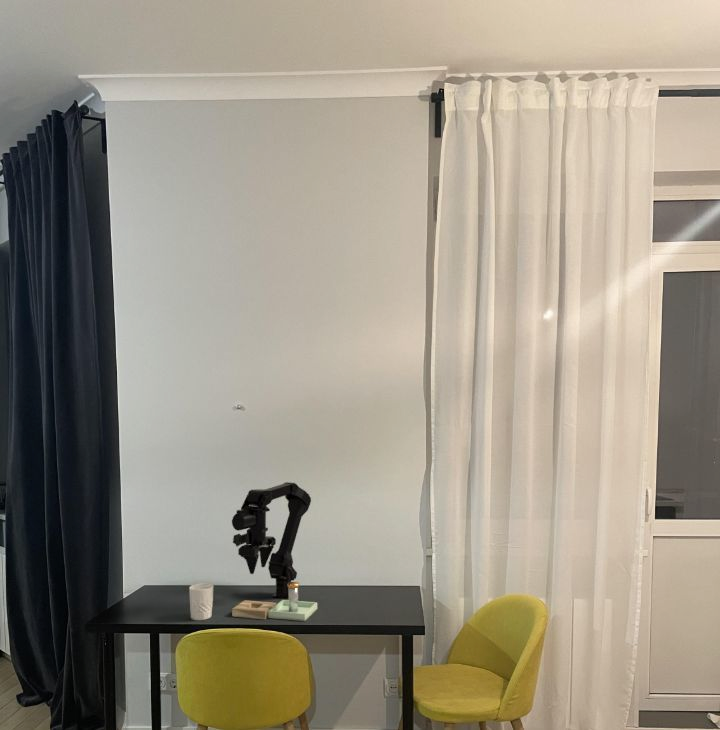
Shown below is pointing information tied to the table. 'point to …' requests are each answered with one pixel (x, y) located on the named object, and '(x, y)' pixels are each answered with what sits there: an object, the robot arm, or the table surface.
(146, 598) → the table surface
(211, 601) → the white cup
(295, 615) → the tray
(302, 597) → the table surface
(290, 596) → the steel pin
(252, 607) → the block
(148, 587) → the table surface
